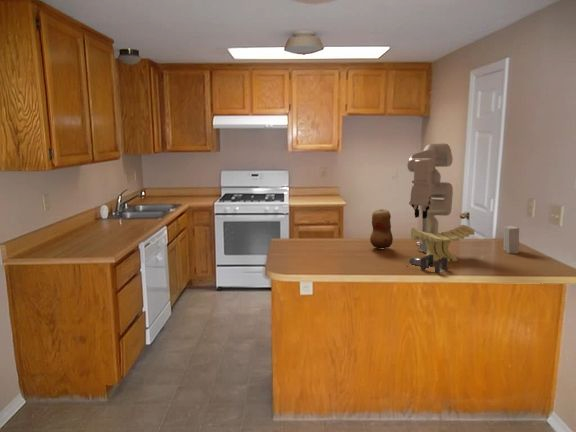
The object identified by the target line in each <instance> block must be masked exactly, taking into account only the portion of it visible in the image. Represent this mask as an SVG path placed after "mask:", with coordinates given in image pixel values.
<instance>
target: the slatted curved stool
mask: <svg viewBox="0 0 576 432" xmlns="http://www.w3.org/2000/svg"><path fill="white" fill-rule="evenodd" d="M470 236H475V229H474V228H472V227H470V226H468V225H465V224H460V225H459V226H457V227H454V228H453V229H450V230H447V231H443V232H441V233H440V232H438V233H433V234H432V233H425V232H423V231H422V230H420V229H416V228H415V227H412V228H411V230H410V240H411V241H413V242H415V241H417V240H418V241H422V239H423V240H425V243H426V246H427V253H426V256H427V255H430V254H431V255H433V262H435V261H436V260H438V259H439V257H441V258H443V257H447V262H458V258H456V257H455V256H454V255H453V254H452V253H451V252H450V251H449V245H450V243H451V242H454V241H455V242H457V241H460V239H461V240H462V239H463V240H464V239H465V237H466V238H467V237H470Z"/></svg>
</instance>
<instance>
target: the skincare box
mask: <svg viewBox="0 0 576 432" xmlns="http://www.w3.org/2000/svg"><path fill="white" fill-rule="evenodd" d="M503 251H504V252H506V253H508V254H519V253H520V228H519V227H517V226H514V225H506V226H505V225H504V226H503Z"/></svg>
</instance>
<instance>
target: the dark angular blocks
mask: <svg viewBox="0 0 576 432" xmlns="http://www.w3.org/2000/svg"><path fill="white" fill-rule="evenodd" d="M441 264H442V265H441ZM434 267H435V273H434V274H436V273H438V274H441V273H440V268H442V269H443V270H445V271H446V270H448V261H447V257H443V258H441V257H439V259H438V260H436V261H434ZM438 274H437V275H438Z"/></svg>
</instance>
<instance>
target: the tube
mask: <svg viewBox="0 0 576 432" xmlns="http://www.w3.org/2000/svg"><path fill="white" fill-rule="evenodd" d="M408 262H409V263H408V264H411V265H415V266H420V267H421V258H419V257H414V256H413V257H412V256H411V257H410V258H409V260H408ZM429 266H430V261H429V260H428V259H427V260H426V268H429Z"/></svg>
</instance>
